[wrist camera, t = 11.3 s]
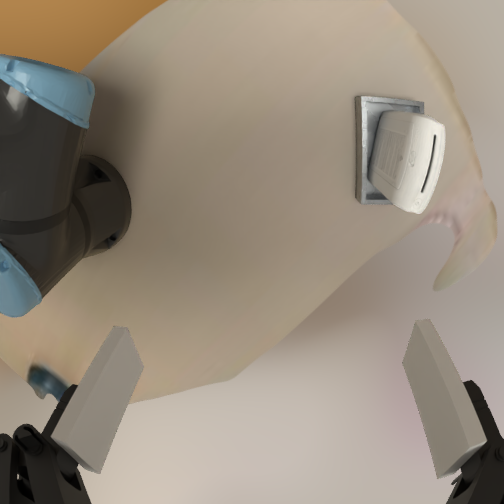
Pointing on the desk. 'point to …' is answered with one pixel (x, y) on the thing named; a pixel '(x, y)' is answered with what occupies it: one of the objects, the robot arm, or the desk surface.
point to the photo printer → (407, 158)
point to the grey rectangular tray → (373, 139)
